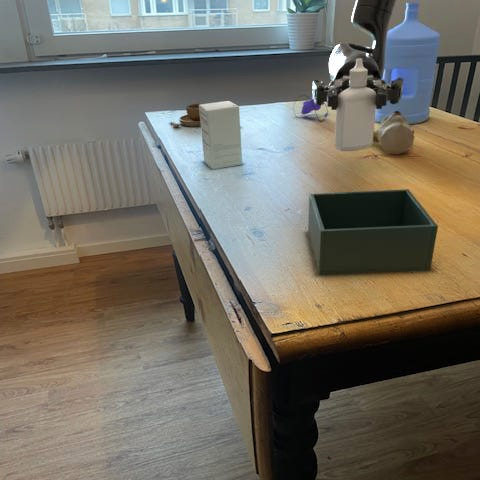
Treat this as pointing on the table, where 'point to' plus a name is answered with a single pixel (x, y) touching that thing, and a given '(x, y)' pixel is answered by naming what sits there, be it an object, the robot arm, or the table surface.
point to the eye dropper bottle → (355, 112)
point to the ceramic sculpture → (394, 134)
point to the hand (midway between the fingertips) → (357, 101)
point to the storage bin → (370, 232)
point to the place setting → (190, 116)
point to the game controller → (310, 107)
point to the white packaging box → (221, 134)
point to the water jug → (410, 67)
